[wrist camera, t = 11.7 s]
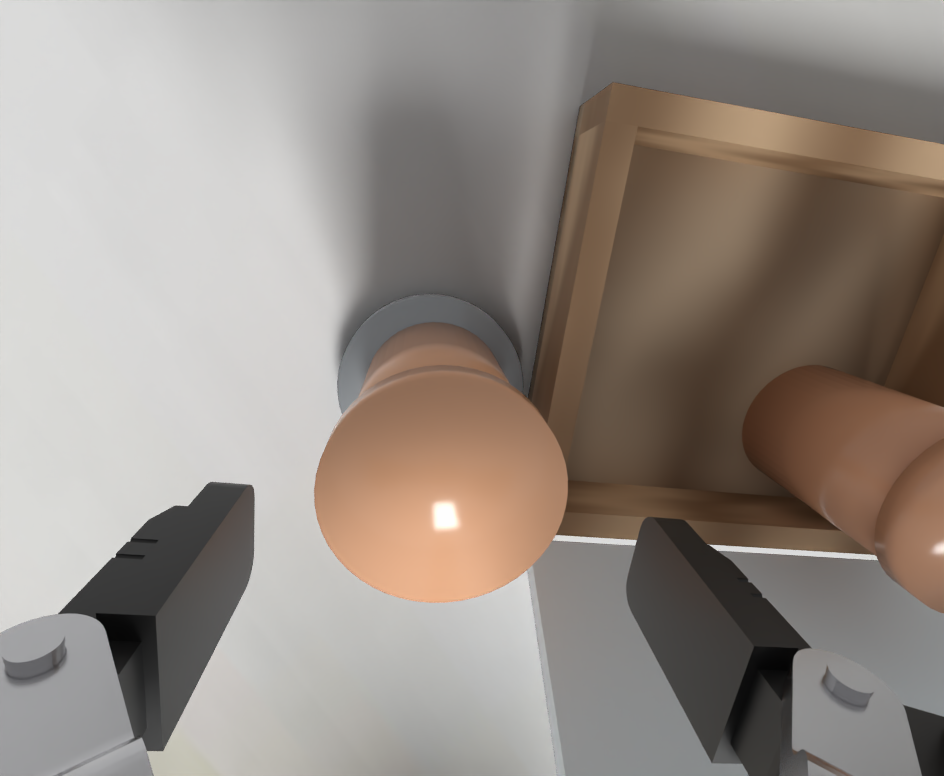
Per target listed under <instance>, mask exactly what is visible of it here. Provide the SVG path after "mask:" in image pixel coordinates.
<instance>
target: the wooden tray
mask: <svg viewBox="0 0 944 776" xmlns="http://www.w3.org/2000/svg"><path fill="white" fill-rule="evenodd" d="M807 365H822V366H827V367H830V368H833V369H836V370H839V371H842V372H845V373H847V374H850V375H853V376H856V377H859V378H862V379H864V380H867V381H870V382H873V383H876V384H879V385H881V386H884V387H887V388H890V389H893V390H896V391H899V392H901V393H904V394H907V395H910V396H913V397H916V398H918V399H921V400H924V401H927V402H930V403H933V404H935V405H938V406H941V407H944V144H939V143H934V142H929V141H923V140H918V139H913V138H907V137H902V136H897V135H891V134H886V133H881V132H875V131H870V130H865V129H859V128H854V127H849V126H843V125H838V124H833V123H827V122H822V121H817V120H811V119H806V118H801V117H795V116H790V115H785V114H779V113H774V112H769V111H763V110H758V109H753V108H747V107H742V106H737V105H731V104H726V103H721V102H715V101H710V100H705V99H699V98H694V97H689V96H683V95H678V94H673V93H667V92H662V91H657V90H651V89H646V88H641V87H635V86H630V85H625V84H619V83H614V82H613V83H611V84H610V85H609V86H607V87H606V88H604V89H603V90H602V91H600V92H599V93H598V94H596V95H595V96H593V97H592V98H591V99H589V100H588V101H587V102H585V103H584V104H583V105H581V106H580V108H579V114H578V119H577V125H576V131H575V136H574V142H573V148H572V153H571V159H570V165H569V170H568V176H567V182H566V187H565V193H564V199H563V204H562V210H561V215H560V221H559V227H558V232H557V238H556V244H555V249H554V255H553V261H552V266H551V272H550V278H549V283H548V289H547V295H546V300H545V306H544V312H543V317H542V323H541V329H540V334H539V340H538V345H537V351H536V357H535V362H534V368H533V374H532V379H531V385H530V391H529V396H528V399H529V400H530V401H531V402H532V404H533V405H534V406H535V407H536V408H537V409H538V411H539V412H540V414H541V415H542V417H543V418H544V420H545V421H546V423H547V425H548V426H549V428H550V429H551V431H552V433H553V434H554V436H555V438H556V440H557V442H558V444H559V446H560V448H561V450H562V454H563V457H564V460H565V463H566V469H567V476H568V496H567V503H566V508H565V512H564V515H563V519H562V522H561V524H560V526H559V529H558V531H557V533H556V535H566V536H582V537H598V538H614V539H630V540H637V538H638V534H639V531H640V527H641V524H642V522H643V521H644V519H645V518H647V517H659V518H672V519H682V520H685V521H686V522H687V523H688V524H689V525H690V526H691V527H692V528H693V529H694V531H695V532H696V533H697V534H698V535H699V536H700V537H701V538H702V540H703V541H704V542H705V543H706V544H710V545H726V546H742V547H759V548H775V549H791V550H807V551H823V552H839V553H855V554H871V555H874V554H873V553H872V552H870V551H869V550H867V549H866V548H865V547H863V546H862V545H861V544H859V543H858V542H856V541H855V540H854V539H852V538H851V537H850V536H848V535H847V534H846V533H844V532H843V531H841V530H840V529H839V528H837V527H836V526H835V525H833V524H832V523H830V522H829V521H828V520H826V519H825V518H824V517H822V516H821V515H819V514H818V513H817V512H815V511H814V510H813V509H811V508H810V507H809V506H807V505H806V504H804V503H803V502H802V501H800V500H799V499H798V498H796V497H795V496H793V495H792V494H791V493H789V492H788V491H787V490H785V489H784V488H783V487H781V486H780V485H778V484H777V483H776V482H774V481H773V480H772V479H770V478H769V477H767V476H766V475H765V474H763V473H762V472H761V471H759V470H758V469H757V468H756V467H755V466H753V465H752V463H751V462H750V461H749V459H748V457H747V456H746V454H745V451H744V448H743V442H742V429H743V423H744V419H745V416H746V414H747V411H748V409H749V407H750V405H751V403H752V402H753V400H754V399H755V397H756V396H757V395H758V393H759V392H760V391H761V390H762V389H763V388H764V387H765V386H766V385H767V384H768V383H769V382H771V381H772V380H773V379H775V378H776V377H778V376H779V375H781V374H783V373H785V372H787V371H789V370H792V369H794V368H797V367H802V366H807Z"/></svg>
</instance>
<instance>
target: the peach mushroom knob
mask: <svg viewBox="0 0 944 776" xmlns="http://www.w3.org/2000/svg"><path fill="white" fill-rule="evenodd" d="M314 496H315V509H316V514H317V520H318V522H319V525H320V528H321V531H322V534H323V536H324V538H325V540H326V542H327V544H328V546H329V547H330V549H331V550H332V551H333V553H334V554H335V556H336V557H337V558H338V560H339V561H340V562H341V563H342V564H343V565H344V566H345V567H346V568H347V569H348V570H349V571H350V572H352V573H353V574H354V575H355V576H356V577H358V578H359V579H360V580H362V581H364V582H365V583H367V584H368V585H370V586H372V587H374V588H376V589H378V590H380V591H382V592H384V593H387V594H390V595H393V596H396V597H399V598H403V599H407V600H412V601H419V602H429V603H440V602H454V601H462V600H466V599H470V598H475V597H478V596H481V595H484V594H487V593H490V592H492V591H494V590H496V589H498V588H500V587H503V586H505V585H506V584H508V583H509V582H511V581H513V580H514V579H516V578H518V577H519V576H520V575H521V574H523V573H524V572H525V571H526V570H528V569H529V568H530V567H531V566H532V565H533V564H534V563H535V562H536V561H537V560H538V559H539V558H540V557H541V556H542V554H543V553H544V552H545V550H546V549H547V548H548V547H549V545H550V543H551V542H552V540H553V538H554V537H555V535H556V533H557V531H558V529H559V526H560V524H561V522H562V519H563V515H564V512H565V508H566V503H567V496H568V476H567V469H566V463H565V460H564V457H563V454H562V450H561V448H560V446H559V444H558V442H557V440H556V438H555V436H554V434H553V433H552V431H551V429H550V428H549V426H548V425H547V423H546V421H545V420H544V418H543V417H542V415H541V414H540V412H539V411H538V409H537V408H536V407H535V406H534V405H533V404H532V402H531V401H530V400H529V399H528V398H527V397H526V396H525V395H524V394H522V393H521V392H520V391H519V390H518V389H516V388H515V387H514V386H512V385H511V384H510V382H509V381H508V379H507V377H506V375H505V373H504V372H503V370H502V368H501V366H500V365H499V363H498V361H497V359H496V357H495V356H494V354H493V353H492V351H491V350H490V348H489V347H488V346H487V345H486V344H485V343H484V342H483V341H482V340H481V339H480V338H479V337H478V336H476V335H475V334H473V333H472V332H470V331H468V330H466V329H464V328H462V327H459V326H456V325H453V324H448V323H442V322H428V323H421V324H416V325H413V326H410V327H407V328H405V329H403V330H401V331H399V332H397V333H396V334H394V335H393V336H391V337H390V338H389V339H388V340H387V341H386V342H384V343H383V345H382V346H381V347H380V348H379V349H378V351H377V352H376V354H375V355H374V357H373V359H372V361H371V363H370V365H369V368H368V370H367V373H366V376H365V379H364V382H363V384H362V387H361V390H360V393H359V395H358V398H357V399H356V400H355V401H354V402H353V403H352V404H351V405H350V406H349V407H348V408H347V410H346V411H345V412H344V413H343V414H342V416H341V417H340V419H339V421H338V422H337V424H336V425H335V427H334V429H333V431H332V434H331V436H330V438H329V440H328V443H327V445H326V447H325V450H324V452H323V454H322V457H321V459H320V463H319V466H318V470H317V473H316V480H315V488H314Z"/></svg>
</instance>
